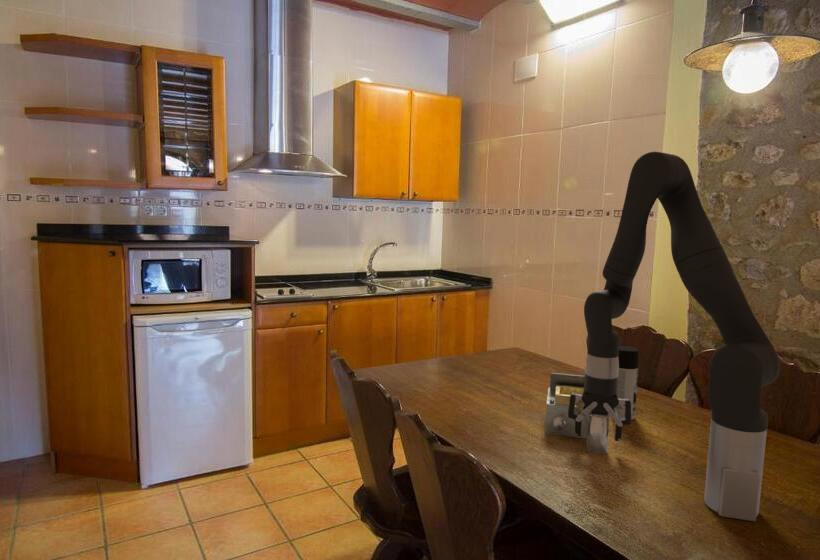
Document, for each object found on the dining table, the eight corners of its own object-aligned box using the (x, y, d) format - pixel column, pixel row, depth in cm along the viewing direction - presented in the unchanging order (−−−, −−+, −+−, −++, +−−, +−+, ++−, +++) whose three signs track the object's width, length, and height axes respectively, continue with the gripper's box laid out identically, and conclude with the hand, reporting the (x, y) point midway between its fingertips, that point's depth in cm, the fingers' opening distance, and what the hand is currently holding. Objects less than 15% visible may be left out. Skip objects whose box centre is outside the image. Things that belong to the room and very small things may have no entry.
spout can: (608, 455, 126) (610, 412, 125) (586, 452, 128) (589, 409, 126) (606, 447, 131) (609, 405, 130) (586, 444, 132) (588, 403, 131)
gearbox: (589, 443, 133) (592, 393, 131) (544, 438, 136) (546, 388, 134) (587, 419, 149) (590, 374, 147) (547, 414, 152) (549, 370, 150)
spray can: (637, 422, 147) (642, 352, 144) (611, 420, 148) (616, 350, 146) (632, 413, 153) (637, 346, 151) (607, 411, 155) (611, 344, 152)
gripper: (570, 374, 125) (567, 439, 127) (635, 380, 121) (630, 448, 123) (570, 365, 132) (567, 427, 134) (631, 371, 128) (627, 435, 130)
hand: (597, 437), depth 129 cm, fingers open, 8 cm apart
